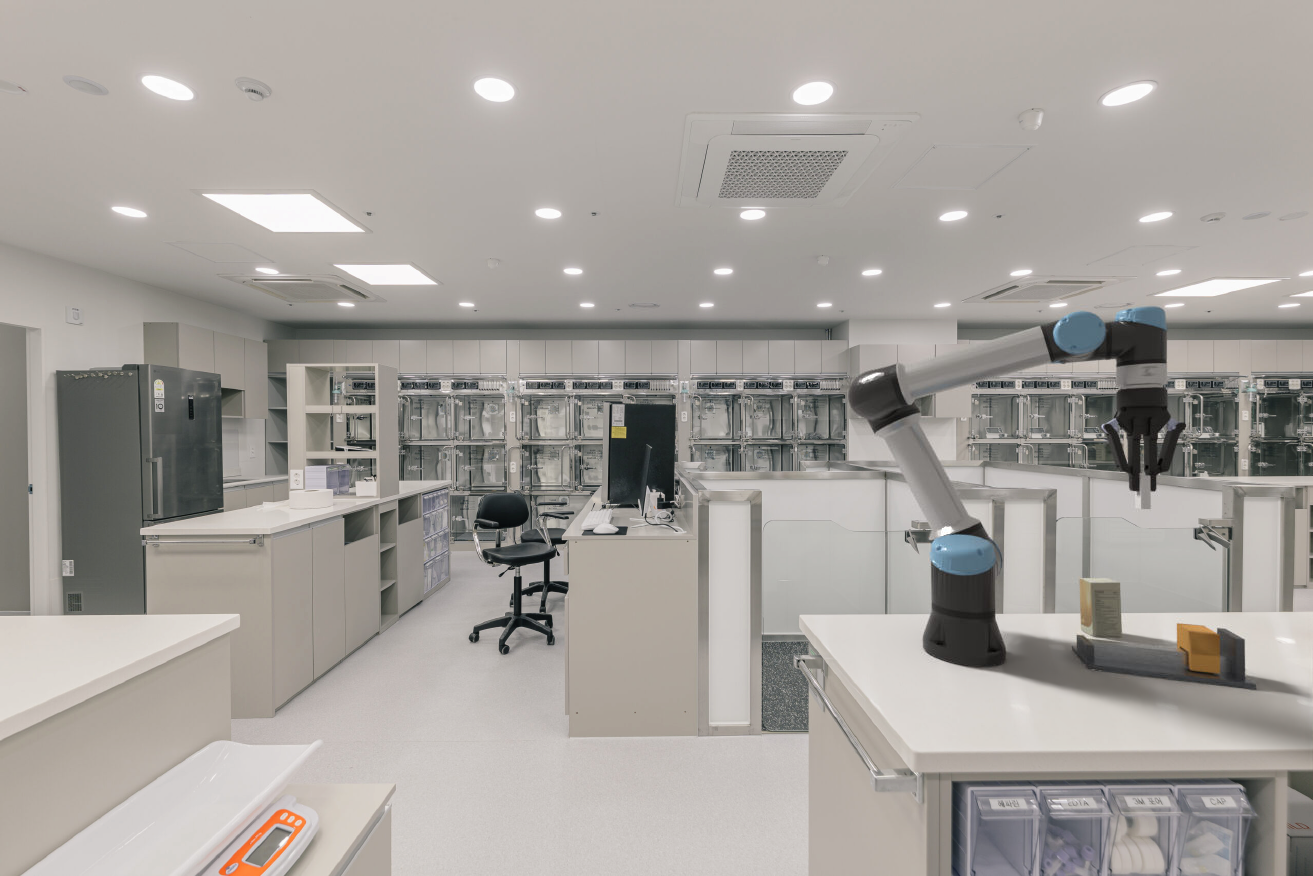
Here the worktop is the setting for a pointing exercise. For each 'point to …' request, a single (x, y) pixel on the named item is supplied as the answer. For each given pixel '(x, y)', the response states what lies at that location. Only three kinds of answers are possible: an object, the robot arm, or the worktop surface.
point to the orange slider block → (1200, 647)
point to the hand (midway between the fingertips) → (1142, 508)
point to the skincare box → (1100, 607)
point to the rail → (1166, 672)
